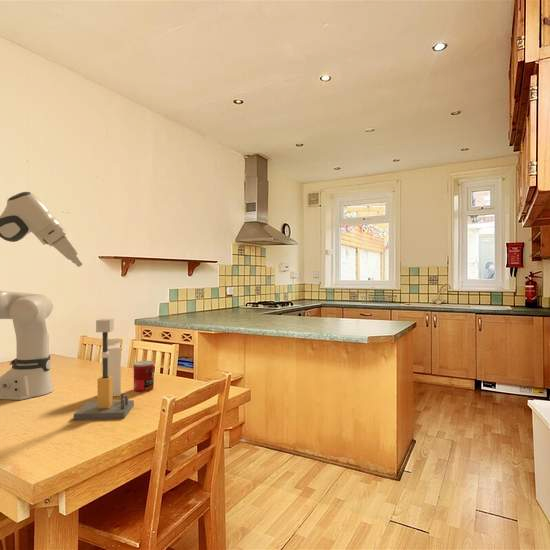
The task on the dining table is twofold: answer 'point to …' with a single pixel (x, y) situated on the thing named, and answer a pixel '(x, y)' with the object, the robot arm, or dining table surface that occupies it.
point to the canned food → (143, 376)
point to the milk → (114, 364)
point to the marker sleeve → (105, 392)
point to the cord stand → (118, 407)
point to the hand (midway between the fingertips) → (78, 263)
